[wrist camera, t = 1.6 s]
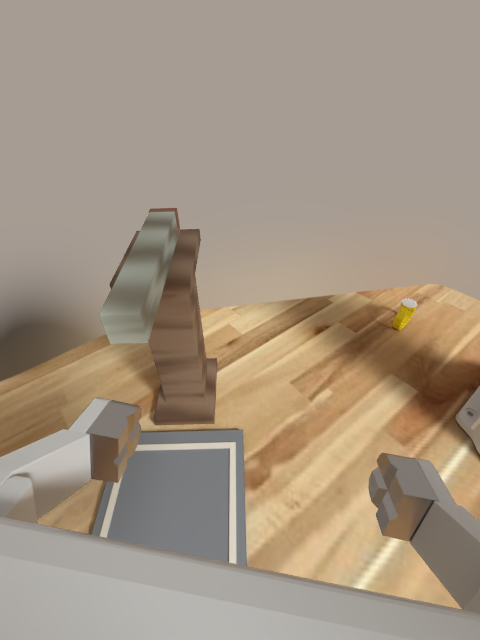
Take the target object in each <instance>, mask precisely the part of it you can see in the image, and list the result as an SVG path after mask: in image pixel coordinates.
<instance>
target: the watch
mask: <svg viewBox="0 0 480 640" xmlns="http://www.w3.org/2000/svg"><path fill="white" fill-rule="evenodd" d="M401 306H402V307H401V308H400V310H399V311H398V313H397V315H396V317H395V319H394V321H393V325H392V326H393V327H394V328H396V329H398V330H401V329H402V328H403V327H404V326H405V325H406V324H407V323H408V322H409V320H410V318H411V317H412V315H413V313H414V311H415V309H416V307H417V303H416V302H415V301H414V300H412V299H403V300H402V302H401Z"/></svg>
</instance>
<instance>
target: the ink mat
mask: <svg viewBox="0 0 480 640" xmlns="http://www.w3.org/2000/svg"><path fill="white" fill-rule="evenodd" d="M91 535H95V536H100V537H105V538H110V539H115V540H120V541H125V542H130V543H135V544H140V545H145V546H149V547H154V548H159V549H164V550H169V551H174V552H179V553H184V554H189V555H194V556H199V557H204V558H209V559H214V560H219V561H224V562H229V563H234V564H238V565H243V566H247V560H246V522H245V485H244V447H243V430H214V431H178V432H141V433H140V438H139V442H138V445H137V448H136V450H135V452H134V454H133V455H132V456H130V457H129V458H127V467H126V469H125V471H124V473H123V475H122V477H121V479H120V480H119V482H118V483H115V482H109V481H107V482H106V485H105V489H104V492H103V496H102V499H101V503H100V506H99V510H98V513H97V517H96V520H95V524H94V527H93V531H92V534H91Z"/></svg>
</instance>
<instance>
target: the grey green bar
mask: <svg viewBox="0 0 480 640" xmlns="http://www.w3.org/2000/svg"><path fill="white" fill-rule="evenodd" d="M179 234H180V226H179V219H178V213H177V208H164V209H163V208H162V209H150V211H149V214H148V216H147V218H146V220H145V222H144V224H143V226H142V229H141V230H140V232H139V234H138V237H137V239H136V241H135V243H134V245H133V247H132V249H131V251H130V253H129V255H128V257H127V259H126V261H125V263H124V265H123V267H122V269H121V271H120V273H119V275H118V277H117V279H116V281H115V283H114V285H113V287H112V289H111V292H110V293H109V295H108V297H107V299H106V301H105V304H104V305H103V307H102V310H101V312H100V314H99V317H100V320H101V322H102V325H103V327H104V329H105V332H106V334H107V337H108V339H109V342H110V344H128V343H148V341H149V338H150V334H151V331H152V327H153V324H154V320H155V316H156V313H157V309H158V306H159V302H160V299H161V295H162V292H163V288H164V285H165V281H166V278H167V274H168V271H169V267H170V263H171V260H172V256H173V253H174V249H175V246H176V242H177V239H178V235H179Z"/></svg>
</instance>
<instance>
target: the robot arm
mask: <svg viewBox="0 0 480 640" xmlns="http://www.w3.org/2000/svg"><path fill="white" fill-rule="evenodd" d="M468 414H469V415H468ZM140 418H141V407H140V406H137V405H132V404H127V403H123V402H118V401H114V400H112V401H111V400H107V399H103V398H95V399H94V400H93V401H92V402H91V403H90V404H89V405H88V407H87V408H86V409H85V410H84V411H83V413H82V414H81V415H80V416H79V417H78V418H77V420H76V421H75V422H74V423H73V424H72V426H71V427H70V428H69V429H68V430H66V429H62V430H60V431H58V432H56V433H53V434H51V435H49V436H47V437H44V438H42V439H40V440H38V441H35V442H33V443H31V444H29V445H26V446H24V447H22V448H20V449H18V450H15V451H13V452H11V453H9V454H6V455H4V456H2V457H0V640H480V521H479V520H478V519H476V518H475V517H474V516H473V515H472V514H470V513H469V512H468V511H467V510H466V509H464V508H463V507H462V506H458V505H456V503H455V501H454V500H453V498H452V496H451V494H450V493H449V491H448V489H447V488H446V486H445V484H444V482H443V481H442V479H441V477H440V476H439V474H438V472H437V470H436V469H435V467H434V465H433V464H432V463H431V462H430V461H428V460H422V459H416V458H409V457H404V456H398V455H393V454H387V453H381V454H380V455H379V457H378V459H377V463H378V466H379V467H378V468H376V469H375V470H373V471H372V473H371V476H370V478H369V494H370V498H371V501H372V502H373V503H374V505H375V506H376V507H377V508H378V511H377V513H376V517H377V520H378V523H379V526H380V529H381V532H382V535H383V536H388V537H392V538H396V539H401V540H405V541H410V544H411V545H412V546H413V547H414V549H415V550H416V551H417V553H418V554H419V555H420V556H421V558H422V559H423V560H424V561H425V563H426V564H427V565H428V566H429V568H430V569H431V570H432V571H433V573H434V574H435V575H436V577H437V578H438V579H439V580H440V582H441V583H442V584H443V585H444V587H445V588H446V589H447V590H448V592H449V593H450V594H451V595H452V597H453V598H454V599H455V601H456V602H457V603H458V604H459V606H460V607H461V608H462V609H463V610H461V609H456V608H452V607H447V606H442V605H437V604H432V603H427V602H422V601H417V600H412V599H407V598H402V597H397V596H392V595H387V594H382V593H377V592H372V591H367V590H362V589H357V588H352V587H347V586H342V585H337V584H333V583H328V582H323V581H318V580H313V579H308V578H303V577H298V576H293V575H288V574H283V573H278V572H273V571H268V570H263V569H258V568H253V567H248V566H243V565H238V564H234V563H229V562H224V561H219V560H214V559H209V558H204V557H199V556H194V555H189V554H184V553H179V552H174V551H169V550H164V549H159V548H154V547H149V546H145V545H140V544H135V543H130V542H125V541H120V540H115V539H110V538H105V537H100V536H95V535H90V534H85V533H80V532H75V531H70V530H65V529H60V528H55V527H50V526H45V525H41V524H38V523H37V520H38V519H39V518H40V517H42V516H43V515H44V514H46V513H47V512H48V511H50V510H51V509H53V508H54V507H55V506H57V505H58V504H59V503H61V502H62V501H64V500H65V499H66V498H68V497H69V496H70V495H72V494H73V493H74V492H76V491H77V490H79V489H80V488H81V487H83V486H84V485H85V484H87V483H88V482H90V481H91V479H97V480H103V481H109V482H115V483H118V482H119V480H120V479H121V477H122V475H123V473H124V471H125V469H126V467H127V458H129V457H130V456H132V455H133V454H134V452H135V450H136V448H137V445H138V442H139V438H140V433H141V426H140V424H139V423H138V421H139V419H140ZM456 421H457V422H458V424H459V425H460V426H461V427H462V428H463V429H464V431H465V432H466V433H467V434H468V435H469V436H470V437H471V439H472V441H473V443H474V445H475V447H476V449H477V451H478V452H479V454H480V385H479V387H478V388H477V389H476V390H475V392H474V393H473V394H472V396H471V397H470V398H469V399H468V401H467V402H466V403H465V405H464V406H463V407H462V408H461V410H460V411H459V412H458V414H457V415H456Z"/></svg>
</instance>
